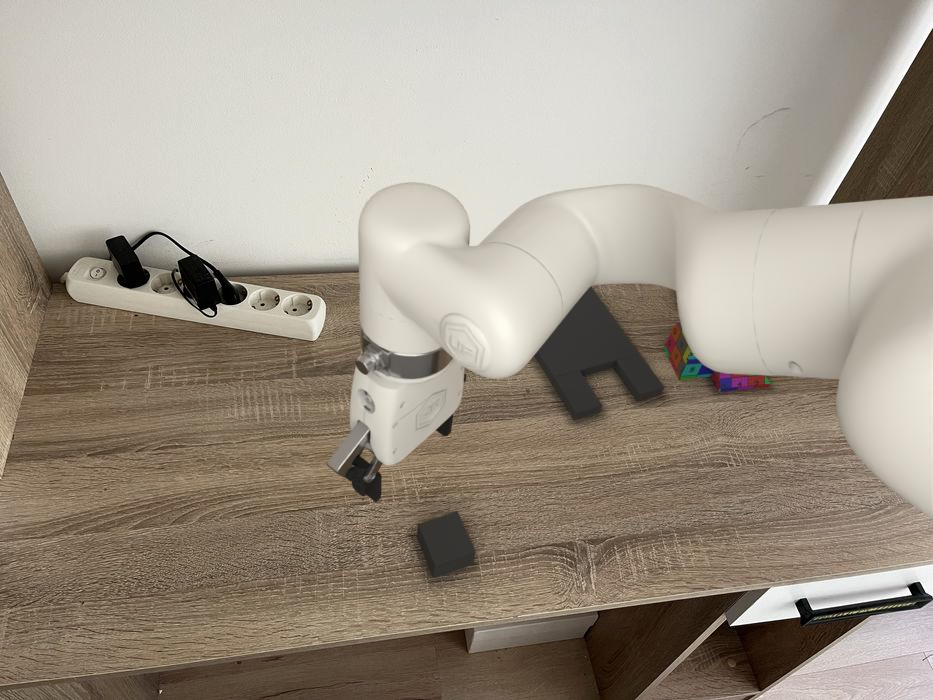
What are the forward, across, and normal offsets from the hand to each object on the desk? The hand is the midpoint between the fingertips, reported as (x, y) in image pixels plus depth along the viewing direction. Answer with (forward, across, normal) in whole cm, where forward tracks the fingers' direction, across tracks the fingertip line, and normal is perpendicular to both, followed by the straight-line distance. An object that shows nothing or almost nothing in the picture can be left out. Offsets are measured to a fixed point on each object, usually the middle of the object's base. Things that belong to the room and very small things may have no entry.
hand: (402, 457), depth 71 cm
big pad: (+14, +36, +1) cm, 39 cm away
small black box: (+14, +1, -5) cm, 15 cm away
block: (+14, +46, -15) cm, 51 cm away
